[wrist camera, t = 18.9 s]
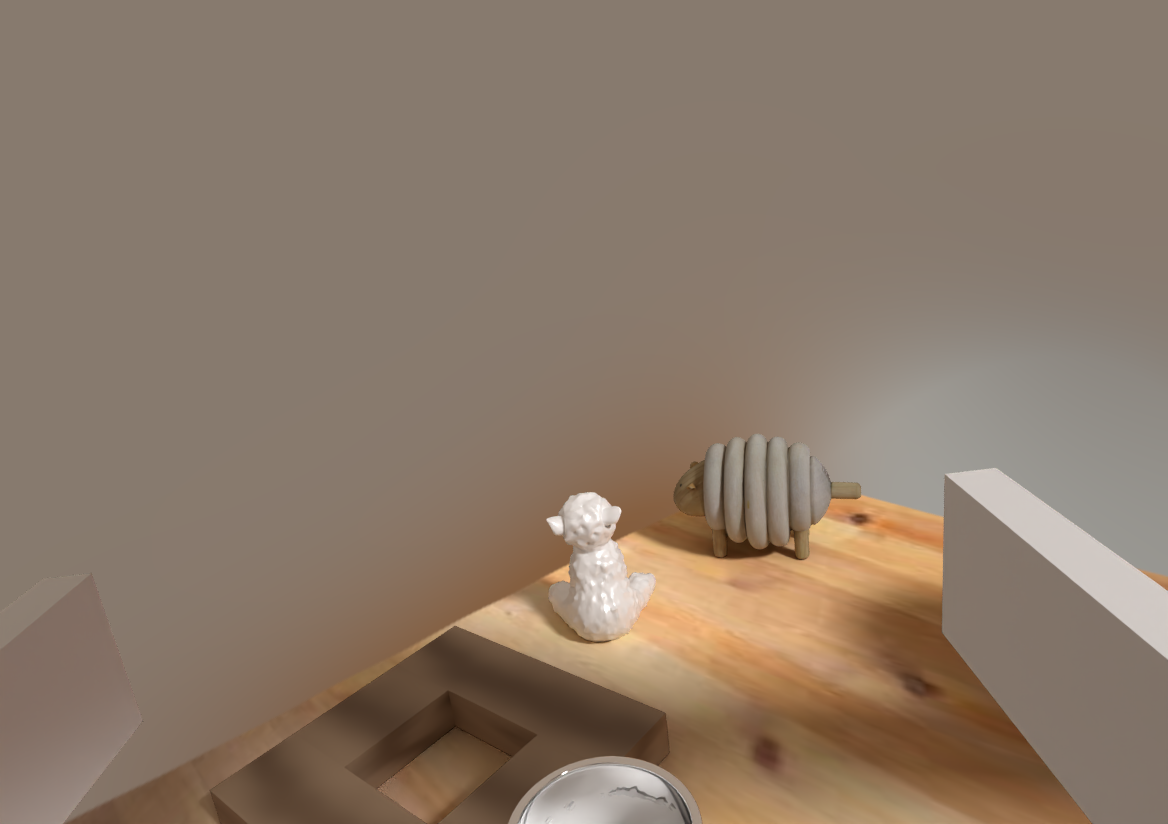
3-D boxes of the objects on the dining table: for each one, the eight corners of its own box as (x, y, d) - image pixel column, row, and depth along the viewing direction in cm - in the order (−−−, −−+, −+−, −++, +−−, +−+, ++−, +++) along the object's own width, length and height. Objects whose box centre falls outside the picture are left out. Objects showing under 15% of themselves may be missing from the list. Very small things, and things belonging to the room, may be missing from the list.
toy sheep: (682, 523, 81) (673, 422, 78) (854, 520, 77) (851, 413, 74) (673, 576, 71) (662, 463, 68) (869, 574, 67) (867, 454, 64)
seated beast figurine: (656, 587, 70) (642, 462, 66) (668, 643, 61) (654, 504, 58) (550, 600, 70) (531, 476, 66) (549, 658, 62) (527, 520, 58)
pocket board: (461, 658, 63) (455, 625, 62) (669, 751, 50) (665, 712, 49) (222, 828, 49) (209, 790, 48) (429, 1020, 36) (417, 971, 35)
